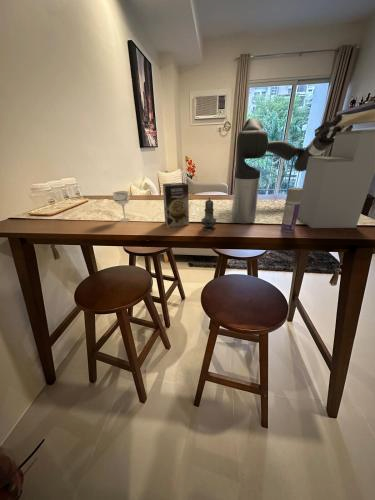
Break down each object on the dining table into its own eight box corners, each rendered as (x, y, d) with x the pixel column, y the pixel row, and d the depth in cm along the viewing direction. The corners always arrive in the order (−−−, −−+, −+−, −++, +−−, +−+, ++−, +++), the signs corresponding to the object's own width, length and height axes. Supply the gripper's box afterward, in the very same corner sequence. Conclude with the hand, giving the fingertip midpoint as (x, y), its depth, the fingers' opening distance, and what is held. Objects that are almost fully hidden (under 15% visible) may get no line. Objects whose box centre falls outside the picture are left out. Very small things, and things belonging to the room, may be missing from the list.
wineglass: (127, 222, 92) (122, 194, 86) (114, 221, 94) (109, 194, 88) (135, 218, 97) (132, 191, 92) (123, 217, 99) (118, 190, 94)
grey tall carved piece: (215, 231, 79) (216, 199, 74) (200, 231, 80) (200, 199, 75) (217, 226, 84) (218, 196, 79) (202, 225, 86) (202, 195, 80)
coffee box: (167, 227, 85) (164, 186, 78) (164, 222, 90) (161, 183, 83) (189, 225, 87) (188, 184, 80) (185, 220, 92) (184, 181, 85)
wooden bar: (376, 120, 62) (380, 107, 61) (331, 126, 84) (333, 117, 83) (391, 119, 62) (395, 107, 61) (342, 126, 84) (344, 117, 82)
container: (290, 227, 81) (298, 187, 74) (296, 232, 77) (305, 189, 70) (278, 228, 81) (285, 187, 74) (284, 232, 77) (291, 190, 70)
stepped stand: (311, 227, 80) (335, 130, 66) (296, 216, 93) (313, 132, 78) (355, 227, 79) (389, 128, 65) (334, 216, 92) (359, 131, 77)
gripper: (304, 135, 95) (327, 107, 78) (337, 134, 95) (367, 105, 77) (305, 151, 95) (327, 126, 78) (338, 150, 94) (368, 125, 77)
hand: (347, 116), depth 78 cm, fingers closed on wooden bar, 4 cm apart
